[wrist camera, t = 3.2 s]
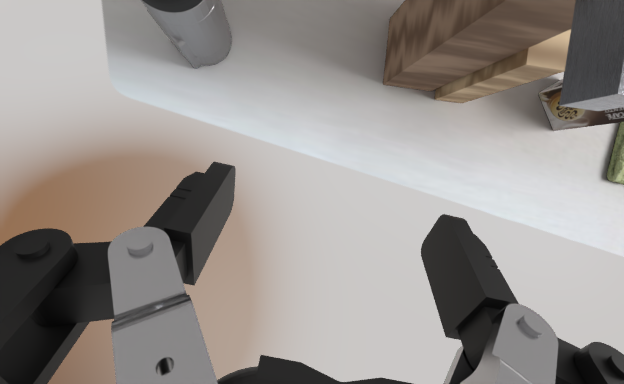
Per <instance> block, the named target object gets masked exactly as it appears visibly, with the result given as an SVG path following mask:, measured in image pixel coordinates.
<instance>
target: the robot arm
mask: <svg viewBox="0 0 624 384" xmlns="http://www.w3.org/2000/svg"><path fill="white" fill-rule="evenodd" d="M141 1H142V3H143V4H144V5H145V7H146V8H147V11H148V12H149V14H150V15H151V16H152V17H153V19H154V20H155V21H156V23H157V24H158V25H159V26H160V28H161V29H162V30H163V31H164V33H165V34H166V35H167V37H168V38H169V39H170V40H171V42H172V43H173V44H174V45H175V46H176V47H177V49H178V50H179V51H180V52H181V53H182V54H183V56H184V57H185V58H186V59H187V60H188V61H189V63H190V64H191V65H192V66H193V67H194V68H195V69H197V68H198V67H200V66H210V65H214V64H217V63H219V62H220V61H222V60H223V59H224V58H225V57H226V56H227V54H228V53H229V51H230V48H231V42H232V37H231V32H230V27H229V24H228V21H227V18H226V15H225V11H224V7H223V4H222V0H141ZM234 186H235V166H231V165H227V164H222V163H218V162H213V163H212V164H211V166H210V167H209V169H208V170H207V171H206V172H205V173H200V172H195V173H193V174H191V175H189V176H187V177H185V178H184V179H183V180H182V181H181V182H180V184H179V185H178V186H177V188H176V189H175V190H174V191H173V192H172V193H171V195H170V197H168V198H167V199H166V200H165V202H164V203H163V204H162V205H161V206H160V208H159V209H158V210H157V211H156V212H155V213H154V215H153V216H152V217H151V218H150V219H149V221H148V222H147V223H146V224H145V225H144V226H143V227H138V228H134V229H131V230H128V231H125V232H123V233H122V234H120V235H119V236H117V237H116V238H115V239H114V240H113V241H112V242H98V243H77V244H76V243H75V244H73V242H72V239H71V237H70V236H69V235H68V234H67V233H66V232H64V231H62V230H58V229H38V230H32V231H29V232H25V233H23V234H20V235H17V236H15V237H13V238H11V239H10V240H8V241H6V242H5V243H3V244H2V245H1V246H0V384H47V383H48V382H49V380H50V379H51V377H52V376H53V375H54V373H55V372H56V370H57V369H58V367H59V366H60V364H61V363H62V361H63V360H64V358H65V357H66V355H67V354H68V353H69V351H70V350H71V348H72V347H73V345H74V344H75V342H76V341H77V339H78V338H79V337H80V335H81V334H82V332H83V331H84V329H85V328H86V326H87V325H88V324H89V322H91V321H99V320H107V319H114V321H113V322H112V326H111V327H112V328H111V330H112V343H113V353H114V363H115V375H116V384H412V383H406V382H401V381H396V380H390V379H385V378H375V379H367V380H360V381H352V382H339V381H337V380H335V379H333V378H331V377H329V376H327V375H325V374H322V373H321V372H319V371H317V370H315V369H312V368H311V367H309V366H307V365H305V364H303V363H301V362H296V361H289V360H285V359H280V358H274V357H269V356H264V355H261V356H260V361H259V365H258V366H257V367H250V368H245V369H241V370H238V371H235V372H233V373H230V374H228V375H226V376H224V377H222V378H220V379H219V380H216V376H215V373H214V370H213V367H212V364H211V360H210V358H209V354H208V352H207V348H206V345H205V342H204V338H203V335H202V332H201V329H200V325H199V322H198V319H197V316H196V313H195V309H194V306H193V303H192V301H191V298H190V296H189V295H187V294H186V291H185V288H184V285H183V284H184V283H185V284H190V285H195V283H196V281H197V279H198V277H199V275H200V273H201V271H202V269H203V267H204V265H205V263H206V261H207V259H208V257H209V255H210V253H211V251H212V249H213V247H214V245H215V243H216V241H217V239H218V237H219V235H220V233H221V231H222V229H223V227H224V225H225V223H226V221H227V219H228V217H229V215H230V212H231V210H232V206H233V201H234ZM421 256H422V260H423V263H424V267H425V270H426V273H427V276H428V280H429V283H430V286H431V289H432V293H433V296H434V299H435V303H436V306H437V309H438V312H439V316H440V319H441V323H442V326H443V329H444V332H445V336H446V337H449V338H454V339H459V340H461V342H462V345H463V346H462V347H460V348H459V349H458V351H457V353H456V356H455V358H454V360H453V362H452V365H451V367H450V370H449V372H448V374H447V377H446V379H445V381H444V384H624V355H623V354H622V353H621V352H619V351H618V350H616V349H614V348H613V347H611V346H609V345H606V344H604V343H601V342H593V343H590V344H589V345H587V346H585V347H584V348H582V349H580V348H578V347H575V346H574V345H572V344H569V343H567V342H565V341H563V340H561V339H559V338H557V336H556V334H555V332H554V331H553V329H552V328H551V327H550V325H549V324H548V323H547V322H546V321H545V320H544V319H543V318H542V317H541V316H540V315H539V314H537V313H536V312H534V311H533V310H531V309H529V308H528V307H526V306H523V305H520V304H518V302H517V300H516V298H515V297H514V295H513V293H512V291H511V289H510V288H509V286H508V284H507V282H506V280H505V279H504V277H503V275H502V273H501V272H500V270H499V269H497V268H498V266H497V265H496V263H495V261H494V260H493V259H492V256H491V254H490V252H489V251H488V249H487V247H486V246H485V244H484V243H483V242H482V241H481V240H480V239H479V238H478V237H477V236H476V235H475V234H473V232H472V231H471V229H470V227H469V225H468V223H467V221H466V220H465V219H463V218H458V217H453V216H450V215H445V214H444V215H441V216H440V217H439V218H438V220H437V222H436V223H435V225H434V226H433V228H432V229H431V231H430V232H429V234H428V235H427V237H426V238H425V240H424V242H423V244H422V248H421Z"/></svg>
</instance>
